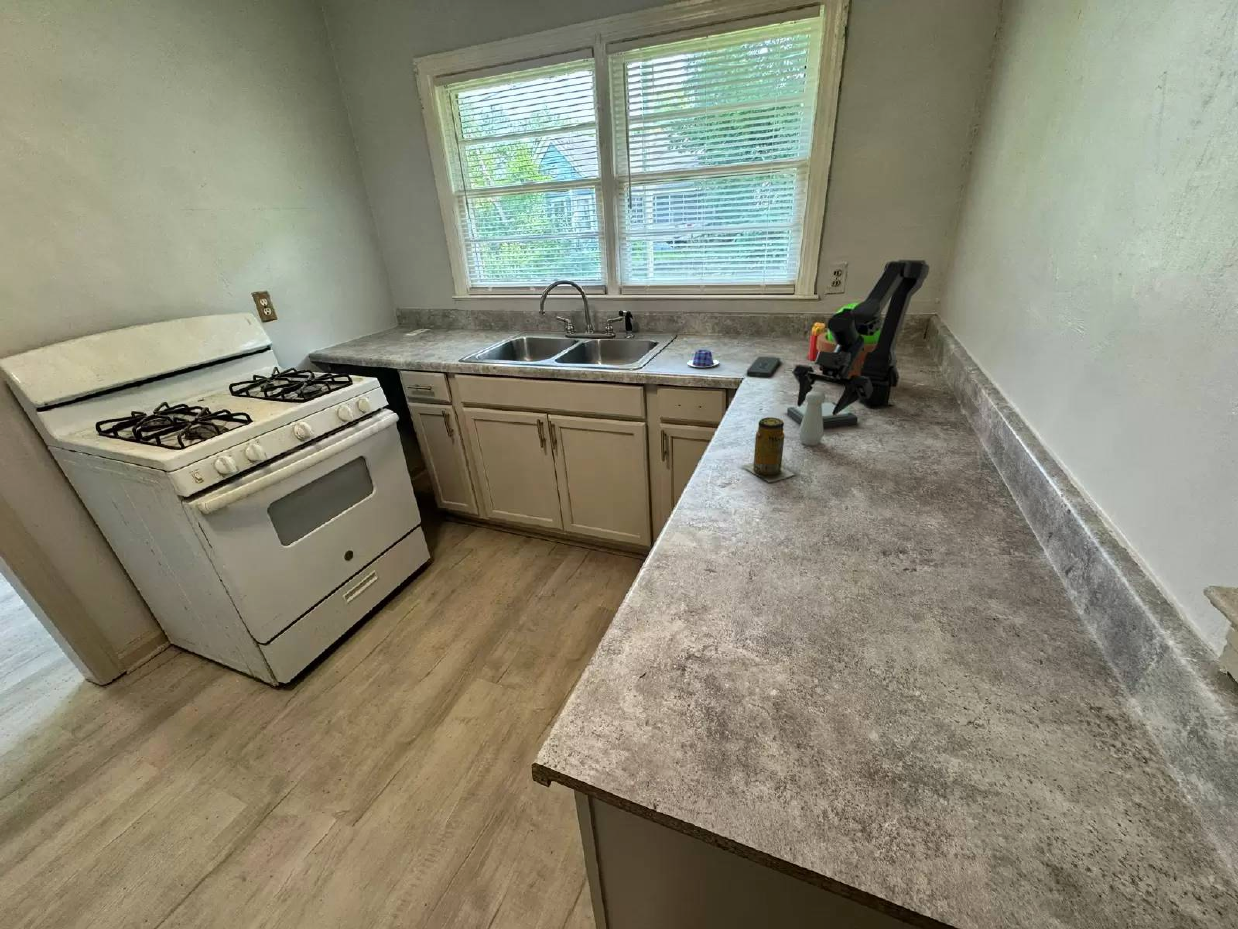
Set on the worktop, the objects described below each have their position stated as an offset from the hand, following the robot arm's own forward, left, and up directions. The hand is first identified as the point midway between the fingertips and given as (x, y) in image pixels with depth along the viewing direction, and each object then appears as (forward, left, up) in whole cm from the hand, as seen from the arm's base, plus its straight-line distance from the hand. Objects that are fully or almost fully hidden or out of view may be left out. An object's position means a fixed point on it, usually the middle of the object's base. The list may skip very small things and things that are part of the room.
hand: (815, 410), depth 120 cm
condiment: (+17, +12, -9) cm, 22 cm away
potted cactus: (-35, -43, -8) cm, 56 cm away
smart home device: (-14, -63, -8) cm, 65 cm away
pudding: (+5, -76, -8) cm, 76 cm away
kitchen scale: (-9, -13, -8) cm, 18 cm away
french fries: (-37, -69, -8) cm, 78 cm away
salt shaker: (+1, 0, -8) cm, 9 cm away
